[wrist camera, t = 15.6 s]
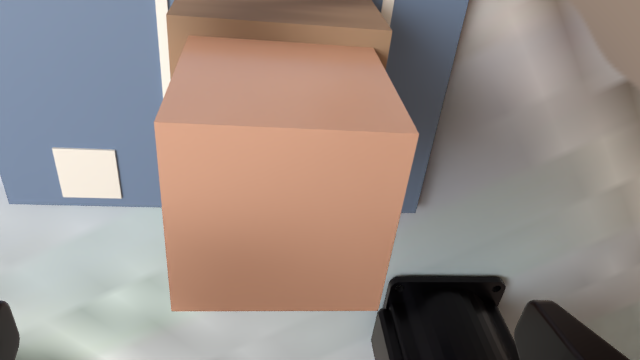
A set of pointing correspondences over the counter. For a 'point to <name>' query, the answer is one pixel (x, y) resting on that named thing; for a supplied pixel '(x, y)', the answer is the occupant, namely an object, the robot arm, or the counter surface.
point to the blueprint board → (154, 94)
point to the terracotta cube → (280, 175)
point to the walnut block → (279, 23)
